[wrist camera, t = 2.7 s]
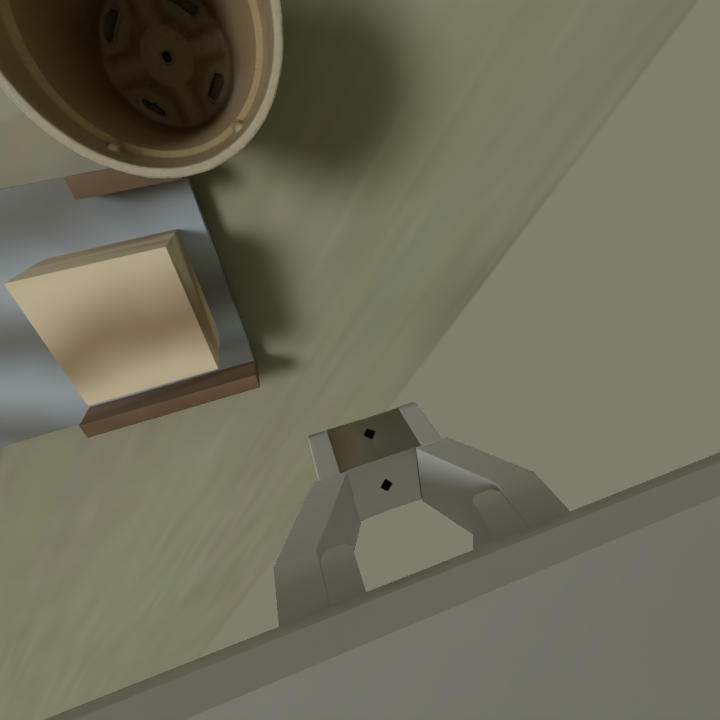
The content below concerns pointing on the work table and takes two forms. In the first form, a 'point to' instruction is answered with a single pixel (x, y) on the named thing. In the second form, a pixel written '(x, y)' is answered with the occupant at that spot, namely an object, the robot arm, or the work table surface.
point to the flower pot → (144, 78)
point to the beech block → (121, 315)
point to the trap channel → (87, 230)
